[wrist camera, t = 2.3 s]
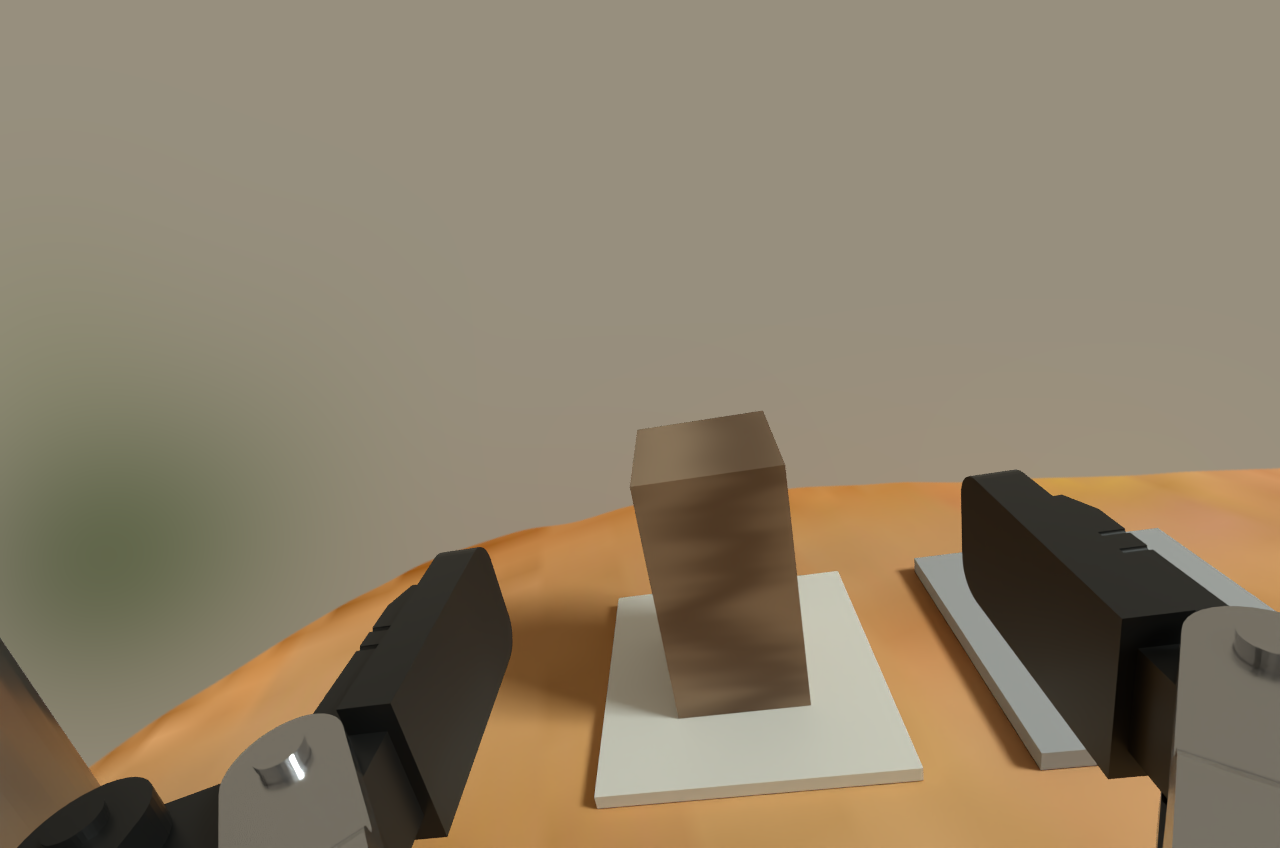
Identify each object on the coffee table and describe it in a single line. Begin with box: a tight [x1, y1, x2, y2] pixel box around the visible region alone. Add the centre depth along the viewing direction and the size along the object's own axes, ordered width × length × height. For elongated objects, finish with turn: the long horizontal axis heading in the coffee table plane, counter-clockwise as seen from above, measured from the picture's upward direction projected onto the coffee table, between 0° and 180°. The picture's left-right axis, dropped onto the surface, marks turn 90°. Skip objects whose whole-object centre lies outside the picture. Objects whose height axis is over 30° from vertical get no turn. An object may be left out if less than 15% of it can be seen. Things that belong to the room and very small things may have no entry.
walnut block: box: [630, 411, 811, 719], centre depth 26 cm, size 6×6×11 cm
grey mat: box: [914, 528, 1276, 770], centre depth 27 cm, size 12×12×1 cm
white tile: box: [594, 571, 923, 809], centre depth 28 cm, size 12×12×1 cm
